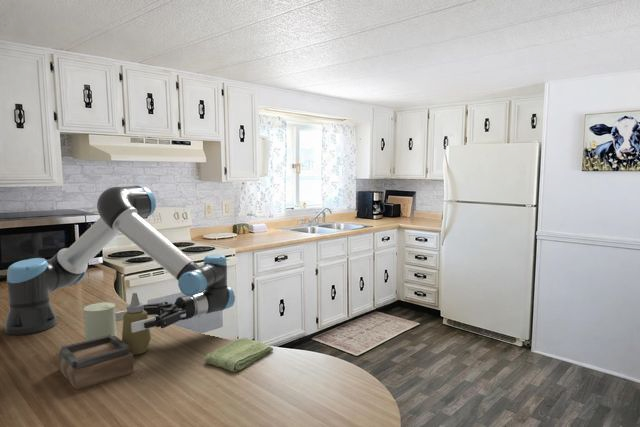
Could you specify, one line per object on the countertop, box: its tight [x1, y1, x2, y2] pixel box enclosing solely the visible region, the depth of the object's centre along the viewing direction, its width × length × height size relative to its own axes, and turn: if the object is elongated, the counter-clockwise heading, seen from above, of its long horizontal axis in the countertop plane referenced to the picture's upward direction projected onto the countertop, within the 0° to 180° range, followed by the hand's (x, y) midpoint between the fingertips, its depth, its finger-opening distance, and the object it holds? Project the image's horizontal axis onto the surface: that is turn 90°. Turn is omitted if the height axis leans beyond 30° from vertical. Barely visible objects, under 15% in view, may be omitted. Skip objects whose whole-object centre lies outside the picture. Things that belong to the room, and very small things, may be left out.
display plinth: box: [57, 335, 135, 391], centre depth 116 cm, size 16×14×6 cm
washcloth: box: [204, 337, 274, 373], centre depth 125 cm, size 13×18×3 cm
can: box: [83, 301, 118, 341], centre depth 136 cm, size 9×9×12 cm
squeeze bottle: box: [121, 292, 152, 356], centre depth 128 cm, size 8×8×18 cm
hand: (123, 322), depth 125 cm, fingers open, 12 cm apart
